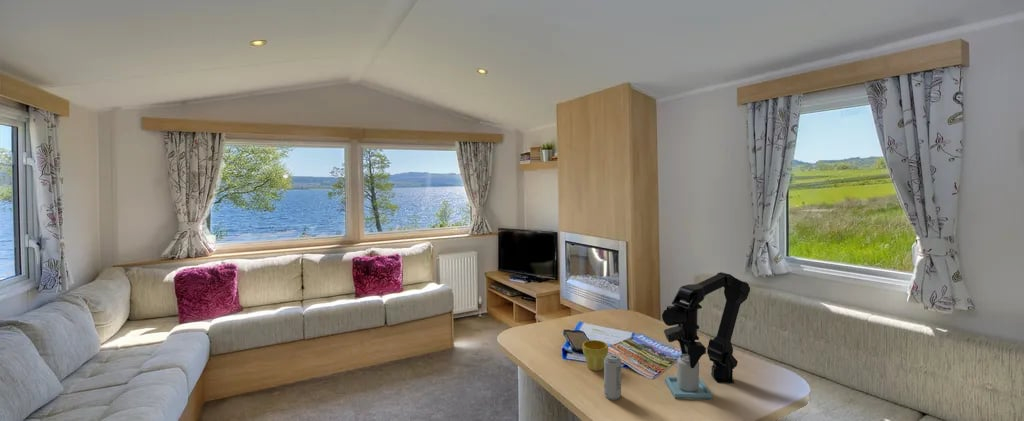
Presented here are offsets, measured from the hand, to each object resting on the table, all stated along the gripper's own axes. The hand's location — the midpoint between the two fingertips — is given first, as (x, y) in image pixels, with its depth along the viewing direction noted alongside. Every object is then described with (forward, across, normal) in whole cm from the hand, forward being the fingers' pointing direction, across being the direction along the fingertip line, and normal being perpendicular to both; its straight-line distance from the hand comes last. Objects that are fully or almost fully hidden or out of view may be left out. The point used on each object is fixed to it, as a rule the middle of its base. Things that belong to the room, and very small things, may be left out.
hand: (688, 362), depth 157 cm
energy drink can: (+11, +6, -28) cm, 31 cm away
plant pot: (+11, -17, -32) cm, 38 cm away
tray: (+11, 0, 0) cm, 11 cm away
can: (+10, 0, 0) cm, 10 cm away
